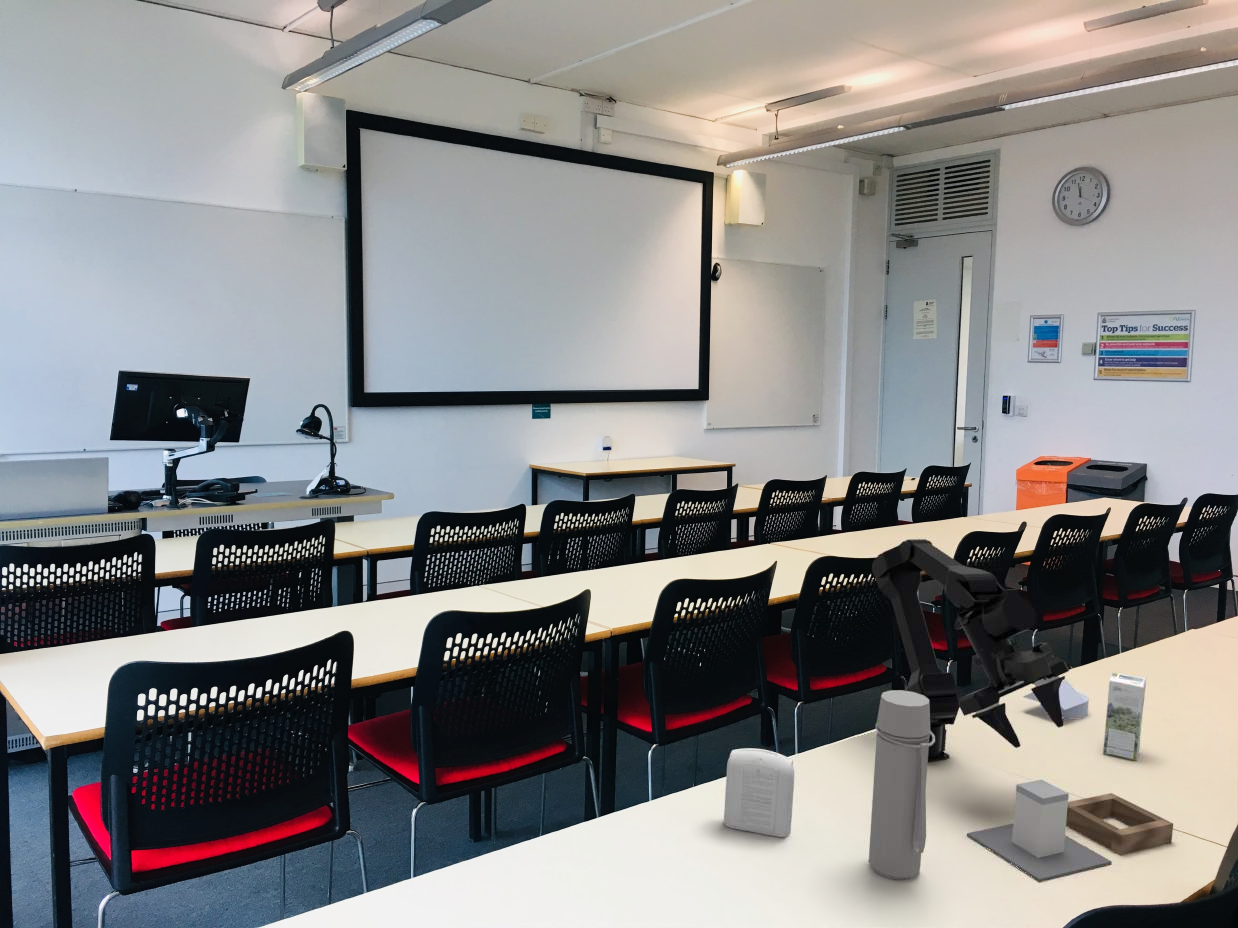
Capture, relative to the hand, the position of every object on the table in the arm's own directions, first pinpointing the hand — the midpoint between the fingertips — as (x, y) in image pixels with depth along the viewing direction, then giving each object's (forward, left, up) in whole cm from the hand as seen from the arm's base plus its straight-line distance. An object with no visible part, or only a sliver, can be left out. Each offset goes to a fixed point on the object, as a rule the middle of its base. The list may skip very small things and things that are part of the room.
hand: (1039, 736), depth 157 cm
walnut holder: (+7, -10, -12) cm, 17 cm away
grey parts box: (-9, -10, -12) cm, 18 cm away
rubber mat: (-9, -10, -12) cm, 18 cm away
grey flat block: (-45, +10, -13) cm, 48 cm away
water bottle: (-33, -8, -13) cm, 36 cm away
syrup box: (+35, +12, -13) cm, 39 cm away
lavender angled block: (+41, +32, -13) cm, 54 cm away
